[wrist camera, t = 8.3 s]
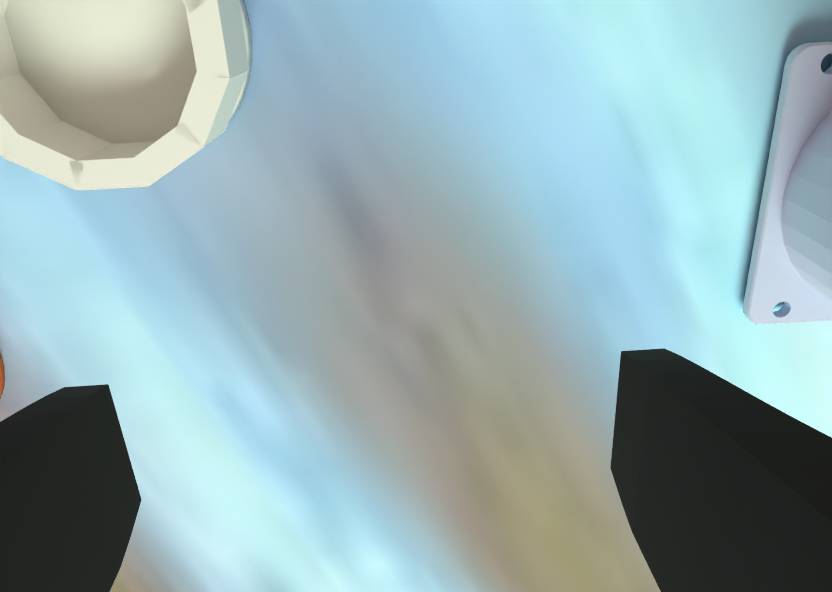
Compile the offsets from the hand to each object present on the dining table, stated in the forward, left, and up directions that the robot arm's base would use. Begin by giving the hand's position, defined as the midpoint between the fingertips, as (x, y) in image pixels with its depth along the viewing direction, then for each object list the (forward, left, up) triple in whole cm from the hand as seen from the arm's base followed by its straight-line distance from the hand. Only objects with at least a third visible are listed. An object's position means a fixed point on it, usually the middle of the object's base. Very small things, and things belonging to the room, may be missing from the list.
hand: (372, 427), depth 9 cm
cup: (+6, -5, -10) cm, 13 cm away
